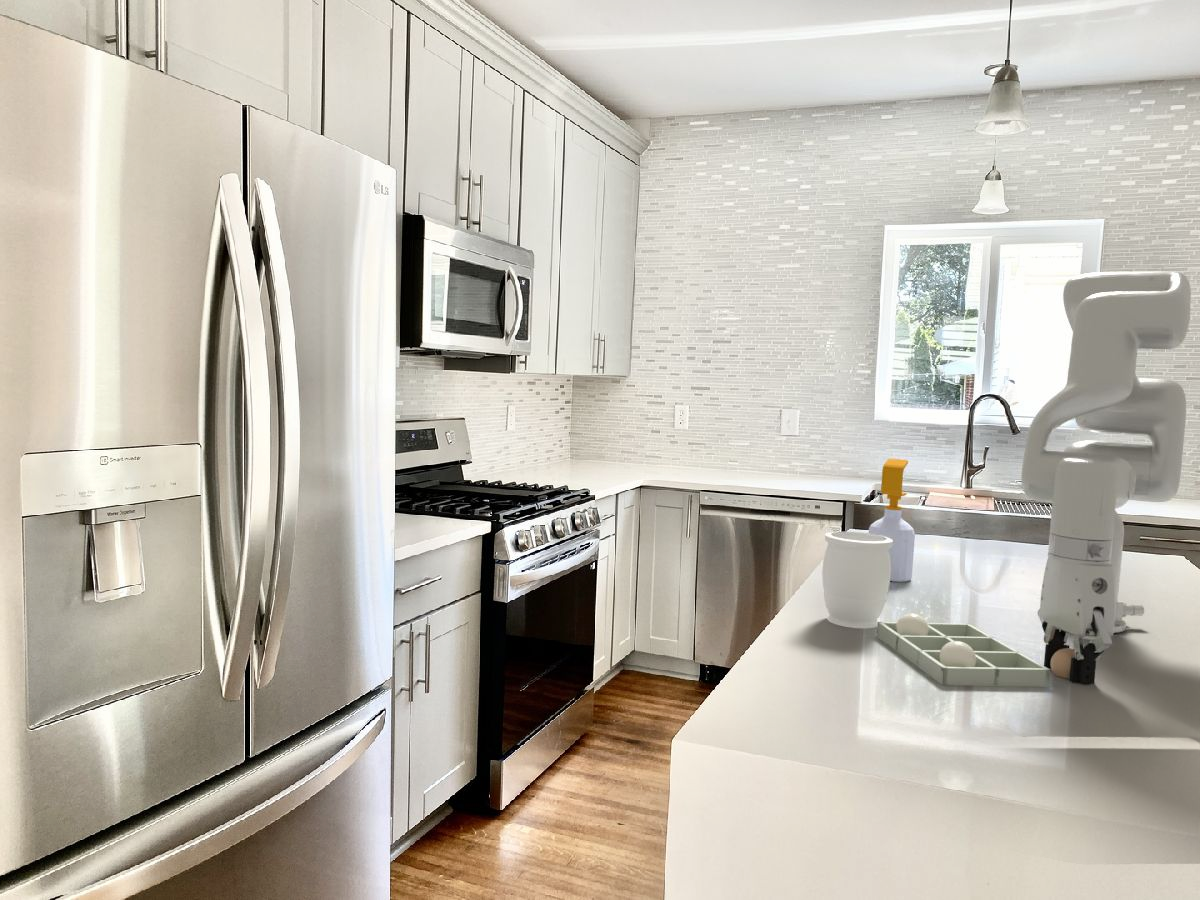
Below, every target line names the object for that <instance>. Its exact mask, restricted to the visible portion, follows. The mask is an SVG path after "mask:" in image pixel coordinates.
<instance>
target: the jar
mask: <svg viewBox="0 0 1200 900" xmlns="http://www.w3.org/2000/svg"><path fill="white" fill-rule="evenodd" d="M824 540H825V541H826V543H827V545H826V546H827V547H826V549H825V552H824V556H823V561H822V569H821V570H822V571H821V572H822V575H821V576H822V578H821V579H822V587H823V599H824V604H825V608H826V610H827V613H828V614H829V615H828V616H827V618H826V619H827V621H828V622H830V623H831V624H834V625H837V626H842V627H846V628H850V629H851V628H852V629H873V628H877V626H878V622H879V621H878V619H879V618H880V617H881V615H882V612H883V611H884V608H885V606H886V601H887V597H888V596H887V595H888V594H889V593H888V592H889V589H890V584H891V582H890V577H891V563H890V555H889V551H888V550H889V548H890V547H891V546H892V545H893V540H892V539H891V538H888V537H884V536H880V535H875V534H869V532H859V531H831V532H826V533H825V535H824Z"/></svg>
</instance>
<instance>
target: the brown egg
mask: <svg viewBox="0 0 1200 900" xmlns="http://www.w3.org/2000/svg"><path fill="white" fill-rule="evenodd" d="M1071 658H1076V657H1075V650H1074V648H1072V647H1069V648H1064V649H1060V650H1058V651H1057V652H1055V653H1054V654H1053V656H1052V658H1051V662H1050V665H1051V669H1050V670H1051V671H1052V672H1051V673H1053V674H1054V675H1055V676H1057V677H1060V678H1065V679H1067V680H1069V678H1070V667H1071Z"/></svg>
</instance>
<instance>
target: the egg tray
mask: <svg viewBox="0 0 1200 900" xmlns="http://www.w3.org/2000/svg"><path fill="white" fill-rule="evenodd" d="M877 622H878V626H877V627H876V628H877V629H876V637H877V638H878V639H880V640H881V641H883V642H884V643H885V644H886V645H888V646H889V647H891V648H892V649H893V650H894V651H896V652H897V653H898V654H900V655H901V656H902V657H904V658H905V659H906V660H908V661H909V662H911V664H914V665H915V666H916V667H917V668H919V669H920V670H922V672H924V673H926V674H927V675H928V676H929V677H931V678H932V679H934V680H935V681H936V682H938V683H939V684H941V686H979V687H981V686H985V687H987V686H989V687H1048V688H1049V687H1050V682H1051V673H1052V672H1051V671H1052V669H1048V668H1047V667H1045V666H1044V664H1041V663H1039V662H1038V661H1036V660H1034V659H1033V658H1030V657H1029V656H1027V655H1025V654H1023V653H1021V652H1019V650H1016V649H1015V648H1013V647H1011V646H1009V645H1007V644H1006V643H1004V642H1002V641H1000V640H999V639H997V638H995V637H993V636H991V635H990V634H987V632H984V631H982V630H981V629H979V628H978V627H976V626H973V625H972V624H970V623H949V622H947V623H946V622H945V623H944V622H942V623H941V622H927V624H928V627H929V632H928V636H911V635H900V634H898V633H897V631H896V625H897V622H898V621H897V622H895V621H892V622H891V621H877ZM952 641H961V642H964V643H966V644H967V645H969V646H970V647H971V648H972V649H973V651H974V653H975V655H976V665H975V667H946V666H944V665H943V664H941V663H940V660H939V654H940V651H941V649H942V647H943V646H944V645H945V644H947V643H949V642H952Z"/></svg>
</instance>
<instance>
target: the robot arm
mask: <svg viewBox="0 0 1200 900" xmlns="http://www.w3.org/2000/svg"><path fill="white" fill-rule="evenodd" d="M1191 290H1192V289H1191V285H1190V281H1189V279H1188V277H1187V276H1186V275H1185V274H1184V273H1182V272H1178V271H1170V270H1169V271H1168V270H1167V271H1165V270H1164V271H1162V270H1161V271H1160V270H1158V271H1155V270H1154V271H1101V272H1100V271H1099V272H1090V273H1089V272H1088V273H1084V274H1083V273H1082V274H1079V275H1076V276H1073V277H1072V278H1070V279H1069V280H1067V282H1066V283H1065V285H1064V288H1063V292H1062V293H1063V295H1062V297H1063V298H1062V300H1063V306H1064V310H1065V311H1064V312H1065V314H1066V318H1067V320H1068V324H1069V326H1070V328H1071V330H1072V337H1071V347H1070V348H1071V349H1070V356H1069V363H1068V369H1067V370H1068V371H1067V377H1066V378H1067V380H1066V384H1065V387H1064V388H1063V389H1062V390H1060V391H1059V392H1058V393H1057V394H1055V395H1054V396H1053V397H1052V398H1050V399H1049V400H1048V401H1047V402H1046V403H1045V404H1044V405H1043V406H1042V407H1041V408H1040V410H1039V411H1038V412H1037V413H1036V415H1035V417H1034V418H1033V420H1032V421H1031V423H1030V425H1029V428H1028V431H1027V434H1026V439H1025V446H1024V452H1023V459H1022V460H1023V461H1022V468H1021V476H1020V477H1021V479H1020V480H1021V487H1022V490H1023V492H1024V494H1025V496H1027V498H1029V499H1031V500H1033V501H1036V502H1038V503H1039V502H1041V503H1048V504H1049V503H1050V504H1051V514H1050V515H1051V516H1050V525H1049V526H1050V528H1049V536H1048V550H1047V560H1046V564H1045V569H1044V572H1043V579H1042V583H1041V584H1042V585H1041V586H1042V587H1041V591H1040V592H1041V593H1040V602H1039V603H1040V606H1039V609H1038V610H1037V616H1038V619H1039V621H1040V622H1041V623H1040V624H1041V628H1042V630H1043V633H1044V634H1043V642H1044V644H1045V648H1044V660H1043V666H1045V667H1047V668H1048V669H1050V670H1052V669H1051V665H1050V662H1051V658H1052V656H1053V654H1054V653H1055V652H1057V651H1058V650H1060V649H1064V648H1070V645H1069V644H1067V642H1068V640H1069V637H1070V636H1069V635H1071V636H1072V637H1073V646H1074V648H1073V649H1074V650H1075V657H1076V658H1071V667H1070V678H1069V679H1068V680H1069V681H1068V682H1069V683H1072V684H1083V685H1090V684H1095V679H1096V678H1095V677H1096V671H1097V670H1096V669H1097V661H1099V660H1100V658H1101V655H1102V654H1103V653H1104V651H1107V649H1108V648H1110V647H1111V646H1112V645H1113V641H1112V637H1113V635H1114V634H1117V633H1122V632H1124V631H1126V629H1127V623H1126V621H1125V620H1124V619H1123V618H1125V617H1127V616H1133V617H1135V616H1137V617H1142V616H1143V615H1144V614H1145V608H1144V605H1142V604H1127V603H1125V602H1124V601H1122V600H1119V591H1120V583H1121V582H1120V581H1121V580H1120V579H1121V571H1122V570H1121V569H1122V559H1123V558H1122V557H1123V547H1124V539H1125V525H1124V522H1123V519H1122V518H1121V516H1120V515H1119V513H1118V512H1117V510H1116V509H1119V508H1122V506H1124V505H1125V504H1127V502H1128V501H1136V502H1149V503H1166V502H1168V501H1171V500H1172V499H1174V497H1175V496H1176V495H1177V492H1178V491H1179V488H1180V482H1181V474H1182V463H1183V453H1184V451H1183V450H1184V442H1185V432H1186V430H1185V428H1186V419H1187V399H1186V398H1187V397H1186V392H1185V390H1184V388H1183V387H1182V386H1181V384H1180V383H1178V382H1177V381H1174V380H1171V379H1165V378H1151V377H1150V378H1145V377H1144V378H1143V377H1137V374H1136V370H1137V369H1136V368H1137V367H1136V366H1137V357H1138V350H1140V349H1141V350H1142V349H1143V350H1144V349H1145V350H1149V349H1150V350H1172V349H1176V348H1178V347H1179V346H1181V344H1183V342H1184V341H1185V338H1186V336H1187V333H1188V330H1189V326H1190V319H1191V300H1192V294H1191V293H1192V291H1191ZM1073 419H1075V422H1076V425H1077V426H1078V427H1079V428H1080V429H1082V430H1083V431H1087V432H1091V433H1096V434H1098V433H1099V434H1106V435H1107V434H1109V435H1110V434H1111V435H1122V436H1123V435H1125V436H1136V437H1146V438H1148V440H1149V441H1151V444H1148V443H1131V442H1123V441H1108V440H1081V441H1075V442H1073V443H1071V444H1069V445H1067V446H1066V447H1065V449H1064V450H1063V451H1057V450H1047V444H1048V441H1049V438H1050V437H1051V435H1052V434H1053V432H1054V431H1056V430H1057V429H1058V428H1059V427H1061V426H1062V425H1063V424H1066V423H1067V422H1069V421H1071V420H1073ZM1086 632H1088V633H1089V635H1088V634H1087V633H1086ZM1084 641H1089V642H1088V643H1087V644H1086V645H1085V646H1084Z"/></svg>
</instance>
